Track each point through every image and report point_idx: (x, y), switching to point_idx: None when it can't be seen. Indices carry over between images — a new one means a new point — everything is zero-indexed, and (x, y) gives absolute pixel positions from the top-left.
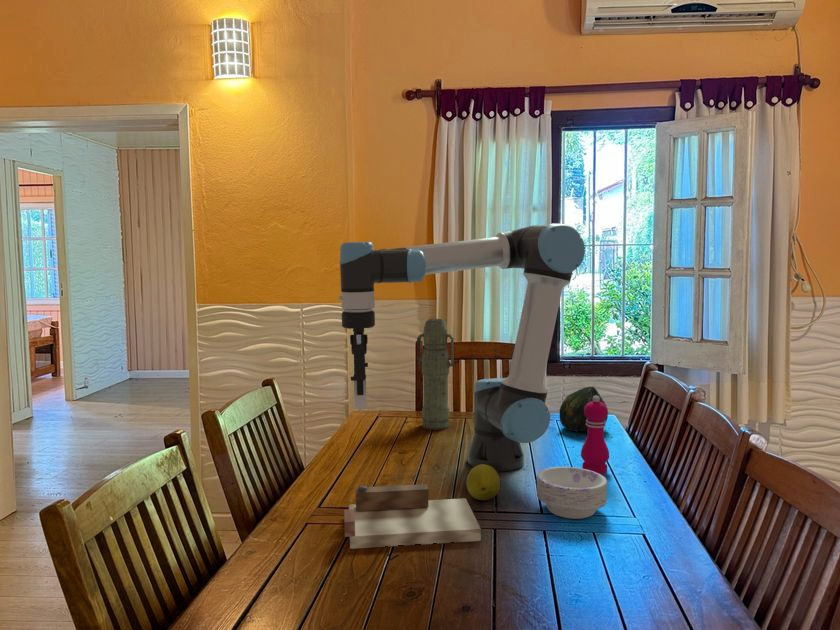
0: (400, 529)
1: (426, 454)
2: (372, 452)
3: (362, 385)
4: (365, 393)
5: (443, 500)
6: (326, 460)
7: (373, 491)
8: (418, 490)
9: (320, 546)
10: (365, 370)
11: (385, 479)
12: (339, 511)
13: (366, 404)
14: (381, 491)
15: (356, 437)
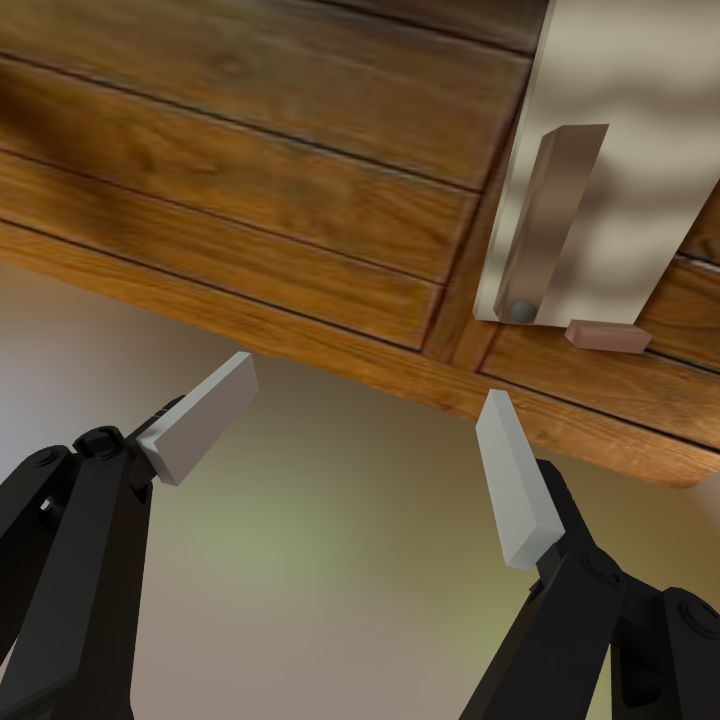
0: (663, 230)
1: (141, 88)
2: (162, 237)
3: (579, 521)
4: (528, 451)
5: (545, 73)
6: (219, 324)
7: (543, 288)
8: (594, 161)
9: (575, 363)
10: (165, 431)
11: (309, 224)
12: (448, 324)
13: (511, 405)
14: (553, 270)
15: (89, 261)
